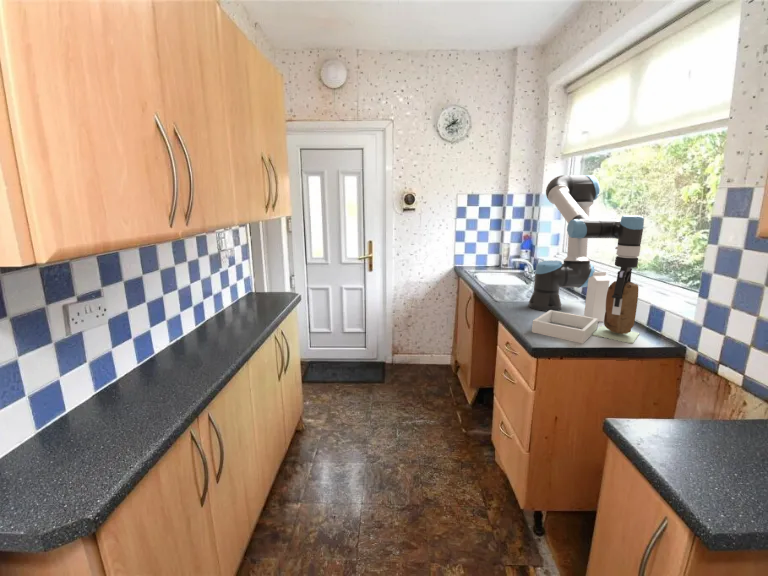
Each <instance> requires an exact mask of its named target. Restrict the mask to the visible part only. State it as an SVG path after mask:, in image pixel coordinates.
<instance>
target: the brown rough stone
mask: <svg viewBox="0 0 768 576" xmlns="http://www.w3.org/2000/svg"><path fill="white" fill-rule="evenodd" d="M616 281H617V280H614V281H613V282H612V283H611V284H609V288H608V291H607V296H606V310H605V316H604V322H603V326H605V327H606V328H607V329H609V330H610V331H612V332H615V333H618V334H619V333H620V334H627V333H629V332H630V331H632V328H633V327H634V326H635V321H636V316H637V309H638V308H637V307H638V302H639V301H638V300H639V285H638V284H637V283H634V282H632V281H631V282H627V283H626V284H625V286H624V290H623V295H622V305H621V312H620V315H615V314H612V309H613V302H614V298H612V296H613V295H614V290H615V285H616ZM617 295H619V294H617Z"/></svg>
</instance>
